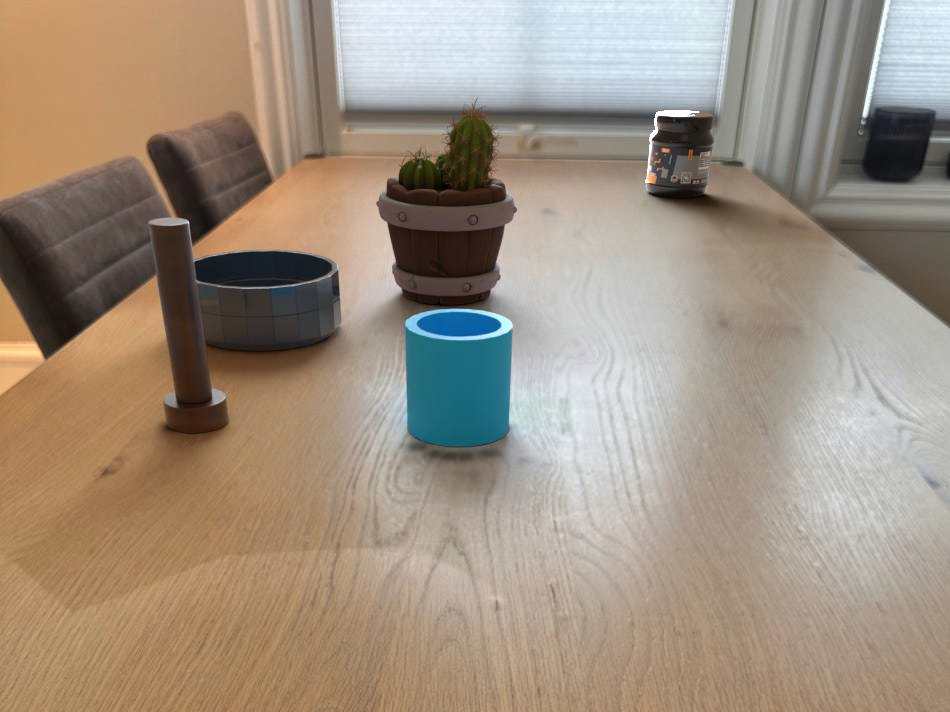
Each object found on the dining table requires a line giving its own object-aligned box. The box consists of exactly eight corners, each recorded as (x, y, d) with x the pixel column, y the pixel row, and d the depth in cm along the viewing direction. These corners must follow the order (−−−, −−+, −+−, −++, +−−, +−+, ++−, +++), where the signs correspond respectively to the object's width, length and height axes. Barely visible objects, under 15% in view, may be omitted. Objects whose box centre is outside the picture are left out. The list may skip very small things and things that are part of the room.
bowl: (159, 327, 98) (149, 265, 95) (284, 300, 107) (279, 242, 104) (243, 364, 90) (235, 297, 86) (372, 332, 98) (369, 270, 95)
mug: (517, 444, 75) (522, 339, 71) (412, 448, 74) (410, 341, 70) (492, 390, 85) (495, 294, 81) (399, 393, 84) (396, 296, 80)
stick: (155, 420, 78) (120, 220, 70) (208, 406, 81) (180, 211, 72) (187, 438, 75) (154, 231, 67) (240, 422, 78) (215, 222, 70)
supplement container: (644, 186, 172) (652, 109, 165) (705, 189, 171) (715, 111, 164) (644, 197, 163) (653, 116, 157) (708, 200, 162) (719, 118, 156)
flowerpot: (352, 293, 110) (342, 91, 99) (447, 271, 120) (448, 83, 108) (444, 321, 102) (444, 104, 91) (538, 294, 111) (549, 95, 100)
